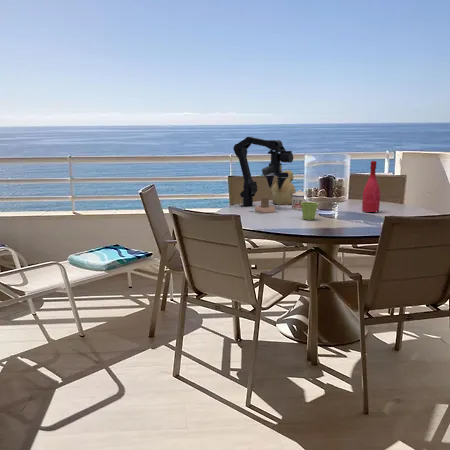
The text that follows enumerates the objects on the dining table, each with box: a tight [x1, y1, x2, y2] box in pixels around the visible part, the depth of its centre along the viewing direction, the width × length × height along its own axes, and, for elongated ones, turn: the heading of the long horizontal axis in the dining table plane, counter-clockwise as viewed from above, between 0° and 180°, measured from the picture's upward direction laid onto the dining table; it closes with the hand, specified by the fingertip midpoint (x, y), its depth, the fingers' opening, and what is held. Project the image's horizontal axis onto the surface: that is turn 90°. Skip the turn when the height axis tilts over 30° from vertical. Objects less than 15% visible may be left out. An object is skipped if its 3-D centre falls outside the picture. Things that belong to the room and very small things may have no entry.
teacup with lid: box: [291, 189, 307, 211], centre depth 303 cm, size 12×9×12 cm
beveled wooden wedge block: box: [260, 196, 270, 208], centre depth 287 cm, size 2×4×8 cm, turn 122°
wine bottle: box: [361, 160, 381, 213], centre depth 295 cm, size 10×10×30 cm
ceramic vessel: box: [270, 165, 297, 206], centre depth 324 cm, size 17×20×25 cm
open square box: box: [254, 205, 276, 214], centre depth 288 cm, size 8×8×3 cm
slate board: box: [248, 209, 278, 215], centre depth 289 cm, size 12×14×1 cm
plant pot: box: [301, 201, 319, 221], centre depth 272 cm, size 9×9×9 cm
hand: (274, 188), depth 300 cm, fingers open, 9 cm apart
